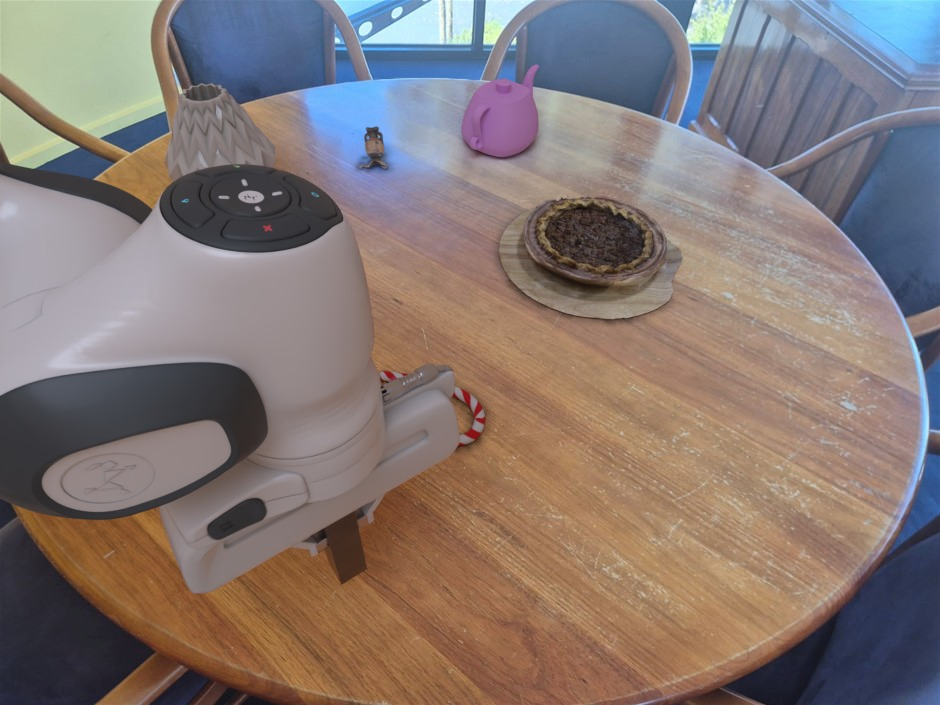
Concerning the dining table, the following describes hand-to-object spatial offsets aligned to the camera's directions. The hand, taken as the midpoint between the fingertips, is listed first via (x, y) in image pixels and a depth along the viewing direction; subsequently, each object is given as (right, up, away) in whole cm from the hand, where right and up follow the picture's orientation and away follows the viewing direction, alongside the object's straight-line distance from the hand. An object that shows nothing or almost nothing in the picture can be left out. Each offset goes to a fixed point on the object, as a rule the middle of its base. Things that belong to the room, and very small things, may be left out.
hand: (338, 532), depth 47 cm
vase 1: (-28, +37, +53) cm, 71 cm away
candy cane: (+5, +7, +27) cm, 28 cm away
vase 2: (-7, +48, +64) cm, 80 cm away
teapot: (+16, +54, +71) cm, 90 cm away
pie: (+28, +28, +47) cm, 62 cm away
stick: (0, -4, +5) cm, 6 cm away
